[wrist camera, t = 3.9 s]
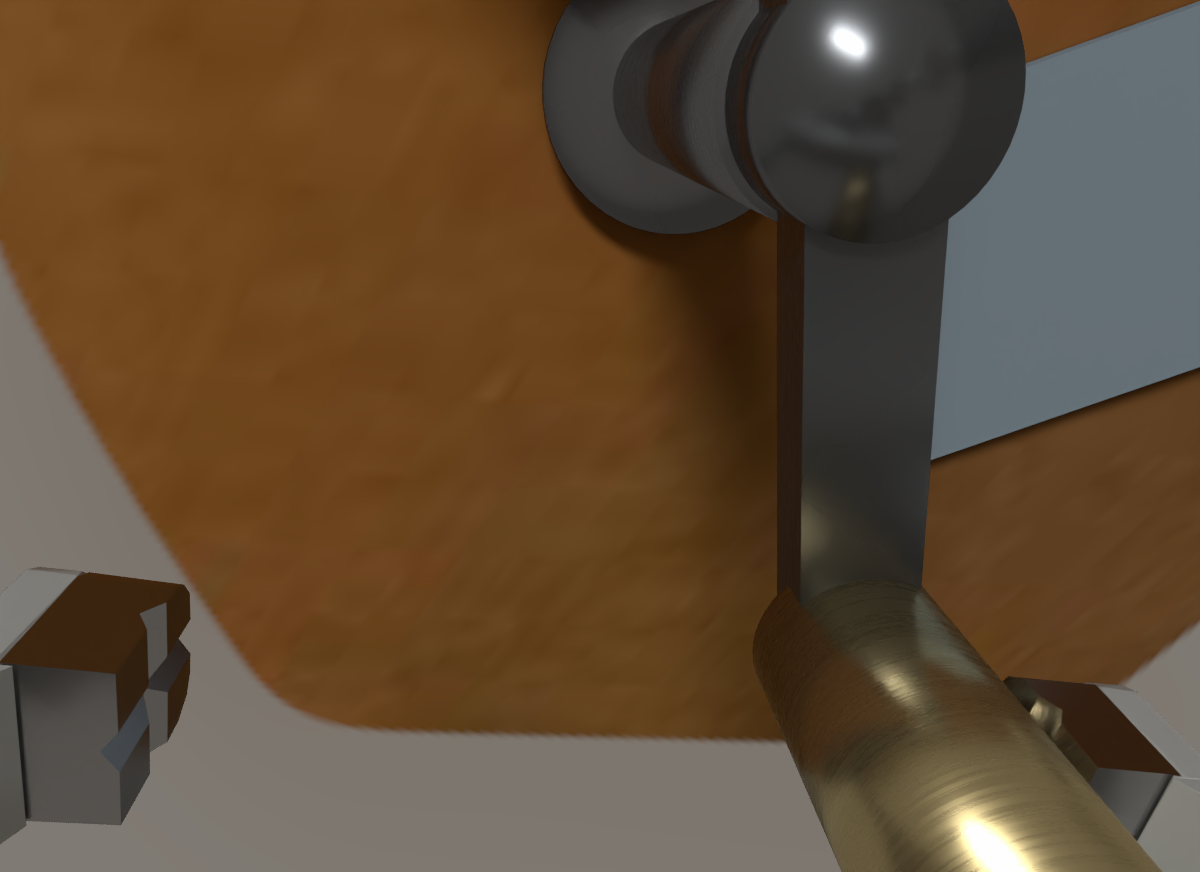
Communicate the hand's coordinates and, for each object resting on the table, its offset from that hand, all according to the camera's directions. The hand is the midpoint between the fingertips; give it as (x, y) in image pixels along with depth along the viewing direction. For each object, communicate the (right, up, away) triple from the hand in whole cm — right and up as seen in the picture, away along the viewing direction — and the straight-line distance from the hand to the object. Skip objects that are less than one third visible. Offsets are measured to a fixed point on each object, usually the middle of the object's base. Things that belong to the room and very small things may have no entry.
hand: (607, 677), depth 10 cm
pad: (+11, +8, +12) cm, 18 cm away
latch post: (+2, +11, +9) cm, 14 cm away
